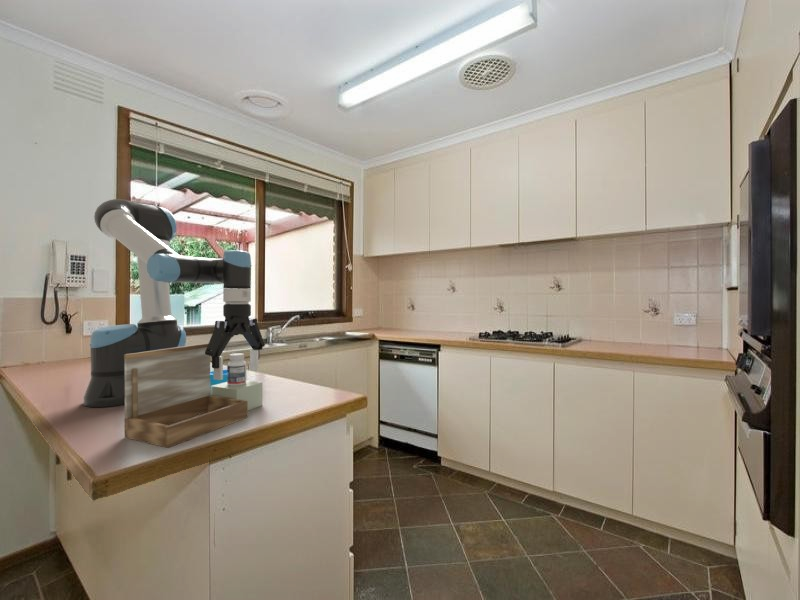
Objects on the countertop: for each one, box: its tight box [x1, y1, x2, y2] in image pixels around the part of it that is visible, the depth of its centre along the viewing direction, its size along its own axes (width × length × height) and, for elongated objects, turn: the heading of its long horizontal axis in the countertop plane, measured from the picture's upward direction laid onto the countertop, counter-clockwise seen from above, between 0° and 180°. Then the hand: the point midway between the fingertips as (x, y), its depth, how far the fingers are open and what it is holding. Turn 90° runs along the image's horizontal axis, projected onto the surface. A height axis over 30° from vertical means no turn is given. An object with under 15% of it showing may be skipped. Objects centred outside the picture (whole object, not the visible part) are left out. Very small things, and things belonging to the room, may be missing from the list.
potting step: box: [211, 379, 263, 411], centre depth 115 cm, size 10×10×7 cm
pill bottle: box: [226, 352, 247, 386], centre depth 114 cm, size 5×5×9 cm
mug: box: [210, 369, 227, 395], centre depth 128 cm, size 12×8×8 cm
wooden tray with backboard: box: [124, 342, 249, 449], centre depth 98 cm, size 15×23×20 cm, turn 157°
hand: (237, 375), depth 115 cm, fingers open, 13 cm apart
